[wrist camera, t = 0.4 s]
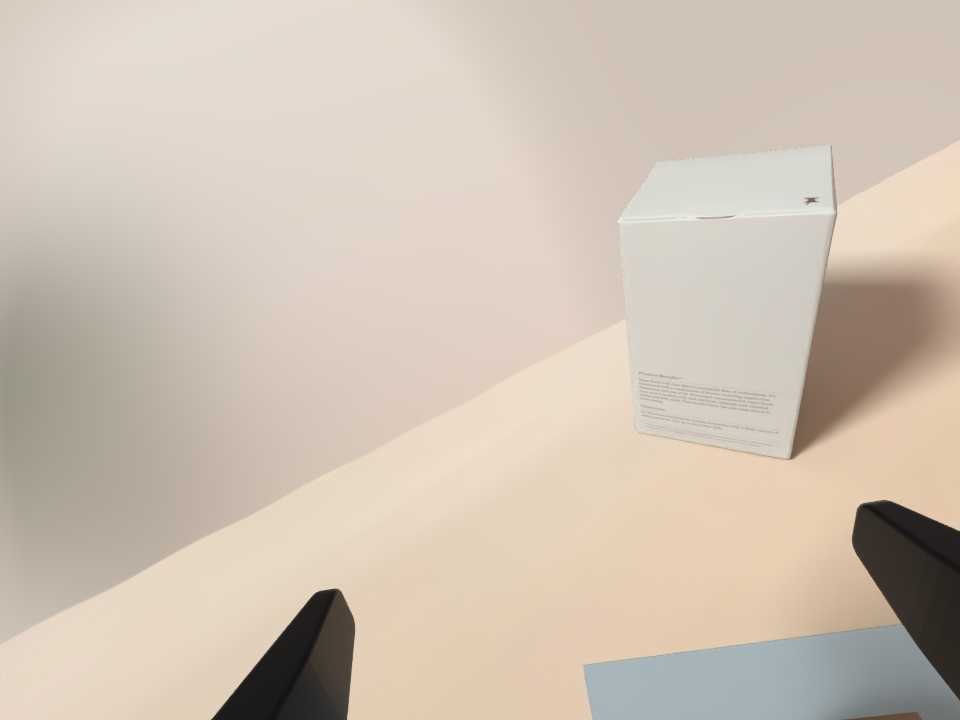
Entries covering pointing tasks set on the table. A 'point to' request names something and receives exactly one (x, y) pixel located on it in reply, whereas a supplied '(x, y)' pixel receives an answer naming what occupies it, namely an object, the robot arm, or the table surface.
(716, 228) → the supplement box
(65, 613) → the table surface
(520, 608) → the table surface
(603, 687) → the mat
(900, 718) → the tee
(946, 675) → the robot arm
